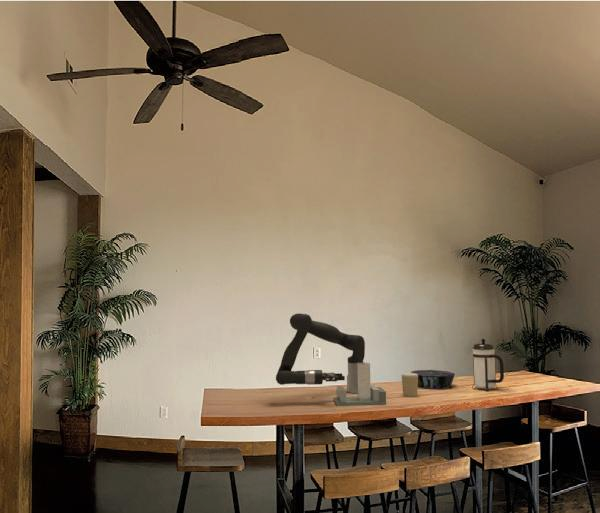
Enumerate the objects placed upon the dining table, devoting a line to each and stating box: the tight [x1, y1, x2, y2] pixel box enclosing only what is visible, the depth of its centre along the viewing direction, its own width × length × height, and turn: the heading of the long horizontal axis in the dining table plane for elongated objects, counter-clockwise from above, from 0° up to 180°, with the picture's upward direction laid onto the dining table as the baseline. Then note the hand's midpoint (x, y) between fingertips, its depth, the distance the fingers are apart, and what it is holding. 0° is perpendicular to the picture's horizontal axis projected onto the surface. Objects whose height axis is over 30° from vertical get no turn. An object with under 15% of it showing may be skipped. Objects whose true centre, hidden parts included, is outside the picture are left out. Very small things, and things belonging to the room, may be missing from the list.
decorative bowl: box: [410, 369, 456, 390], centre depth 325 cm, size 26×28×10 cm
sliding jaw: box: [336, 385, 347, 402], centre depth 277 cm, size 3×13×6 cm, turn 4°
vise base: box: [332, 384, 387, 407], centre depth 278 cm, size 26×15×8 cm, turn 94°
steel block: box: [357, 362, 371, 400], centre depth 279 cm, size 6×4×19 cm
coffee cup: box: [400, 372, 419, 398], centre depth 294 cm, size 9×9×12 cm
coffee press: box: [471, 338, 505, 392], centre depth 311 cm, size 17×16×30 cm
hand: (343, 376), depth 278 cm, fingers open, 8 cm apart
